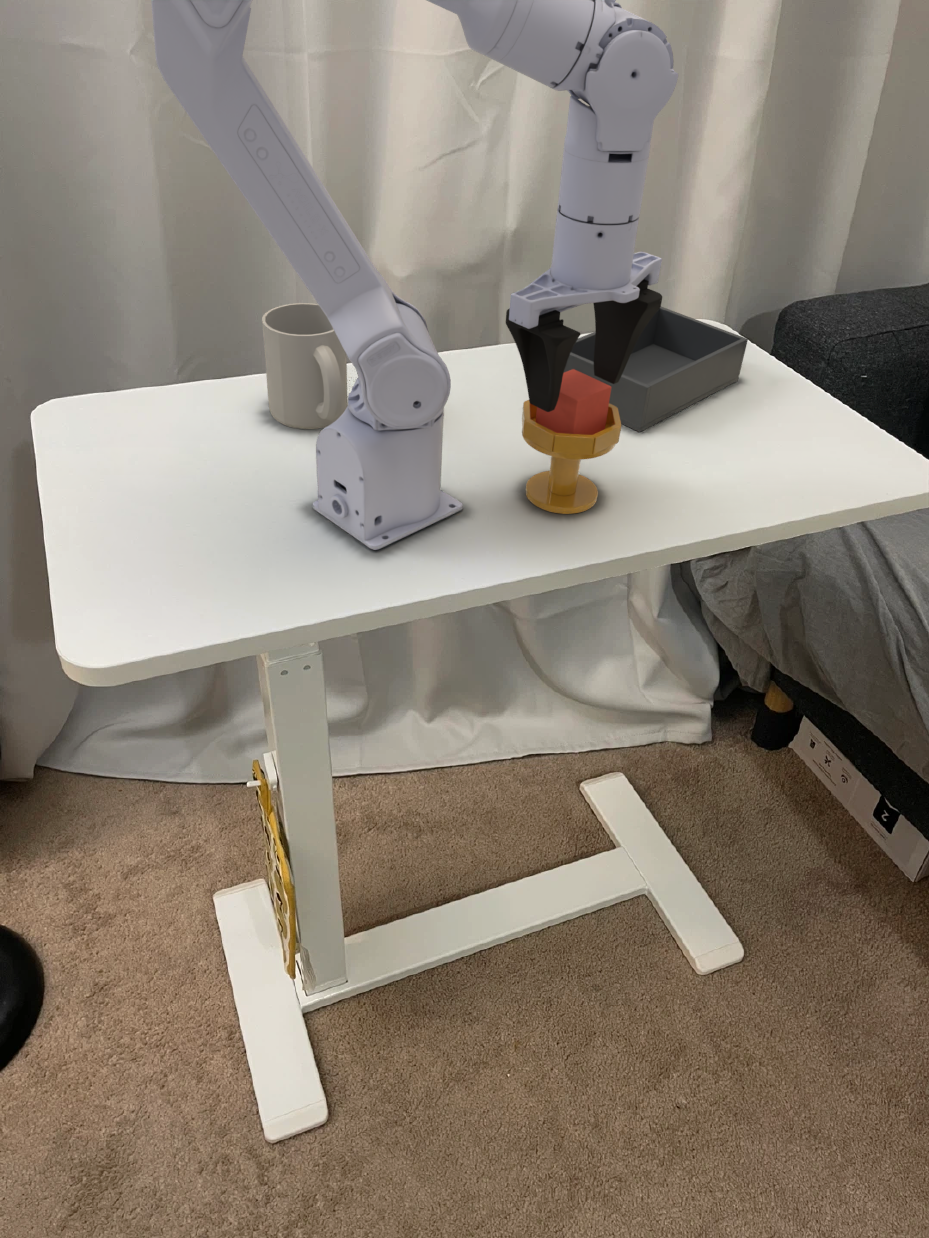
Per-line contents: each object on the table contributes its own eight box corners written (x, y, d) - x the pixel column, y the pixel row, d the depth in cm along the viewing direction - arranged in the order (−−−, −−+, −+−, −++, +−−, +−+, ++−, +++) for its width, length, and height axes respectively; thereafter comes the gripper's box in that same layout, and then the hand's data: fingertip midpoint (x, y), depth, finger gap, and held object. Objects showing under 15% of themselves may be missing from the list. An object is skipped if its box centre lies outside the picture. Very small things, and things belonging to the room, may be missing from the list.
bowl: (564, 530, 79) (576, 447, 75) (497, 490, 84) (504, 409, 79) (625, 498, 84) (639, 417, 79) (558, 462, 88) (567, 383, 83)
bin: (639, 432, 93) (647, 387, 90) (549, 391, 99) (554, 348, 96) (738, 380, 103) (748, 338, 100) (651, 345, 108) (658, 305, 106)
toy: (571, 447, 78) (577, 401, 75) (534, 428, 80) (539, 382, 77) (604, 432, 80) (612, 386, 77) (567, 413, 82) (573, 368, 80)
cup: (327, 388, 97) (324, 298, 91) (374, 434, 90) (374, 340, 84) (257, 403, 93) (249, 310, 88) (300, 451, 87) (294, 355, 81)
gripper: (572, 249, 63) (550, 440, 72) (707, 208, 71) (672, 384, 80) (493, 219, 67) (481, 404, 75) (629, 184, 75) (604, 354, 84)
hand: (574, 392), depth 78 cm, fingers open, 7 cm apart
